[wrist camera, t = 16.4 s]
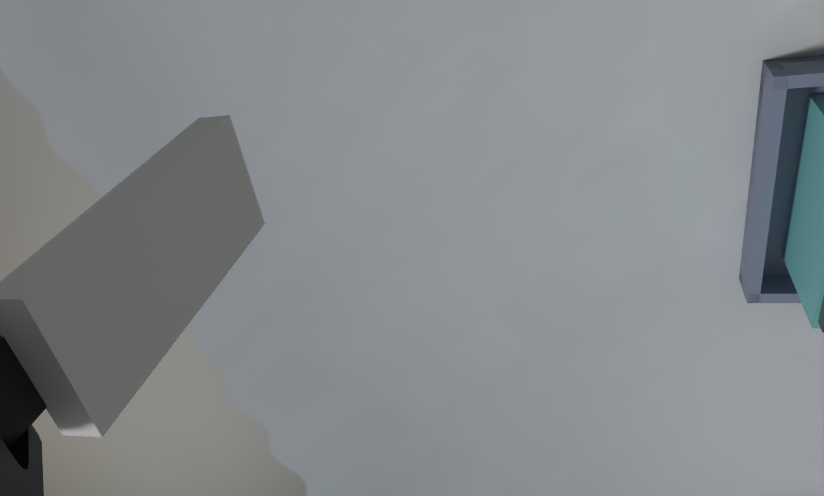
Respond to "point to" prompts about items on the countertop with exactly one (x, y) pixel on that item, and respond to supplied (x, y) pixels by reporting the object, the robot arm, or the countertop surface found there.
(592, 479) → the countertop surface
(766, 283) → the tray
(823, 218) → the teal-edged grey panel
